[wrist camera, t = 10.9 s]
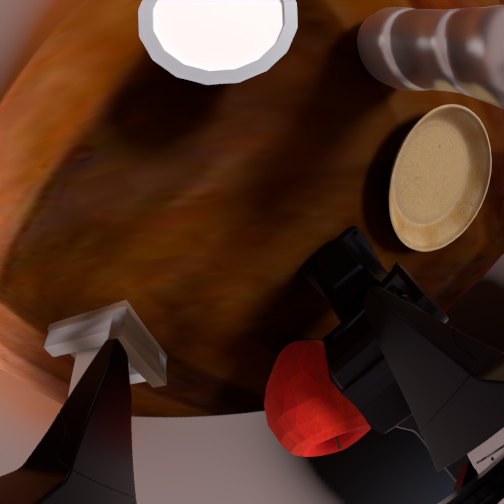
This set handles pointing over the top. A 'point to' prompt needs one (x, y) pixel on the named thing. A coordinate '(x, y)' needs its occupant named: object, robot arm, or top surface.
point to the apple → (309, 403)
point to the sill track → (108, 327)
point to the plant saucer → (439, 178)
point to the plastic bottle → (437, 50)
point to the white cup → (217, 36)
